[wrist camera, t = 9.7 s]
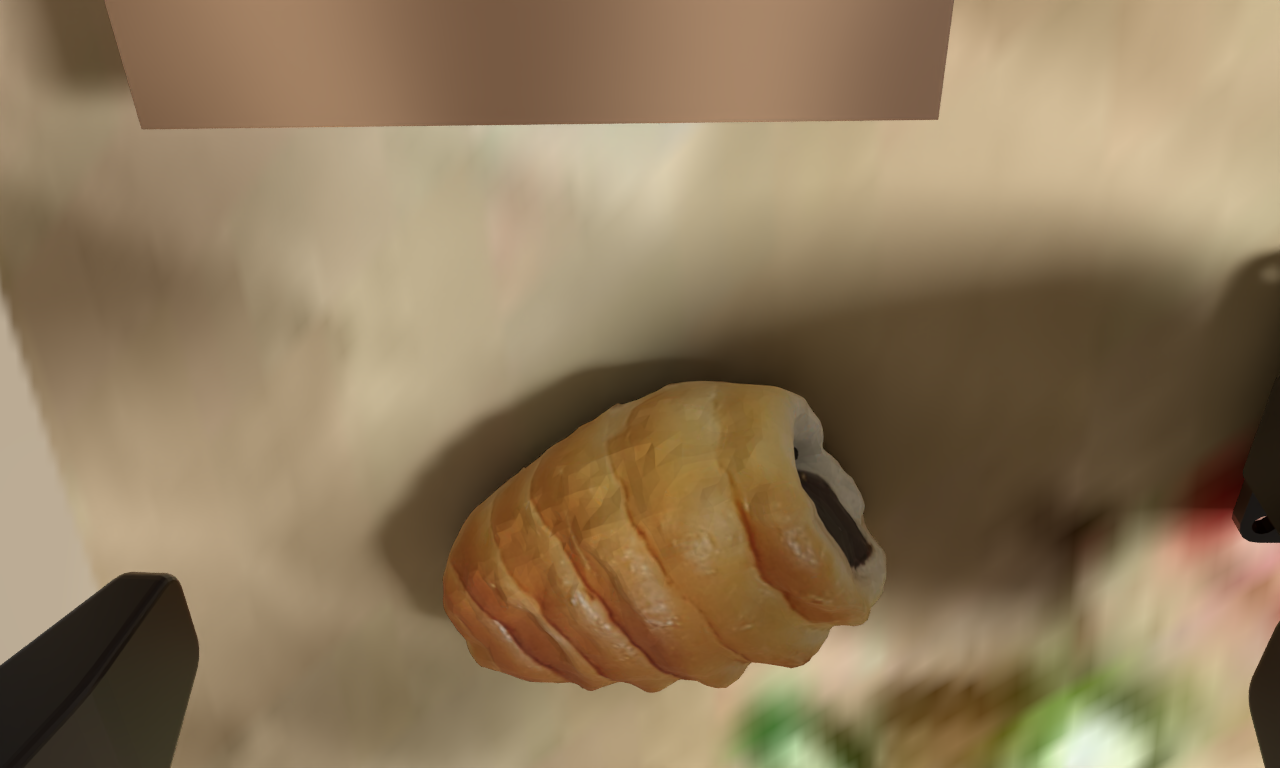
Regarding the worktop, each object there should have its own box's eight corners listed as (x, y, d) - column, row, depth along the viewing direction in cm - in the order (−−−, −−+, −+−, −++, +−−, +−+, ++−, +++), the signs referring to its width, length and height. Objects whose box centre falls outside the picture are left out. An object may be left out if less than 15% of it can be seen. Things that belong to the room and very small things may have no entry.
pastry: (549, 664, 29) (533, 803, 26) (378, 489, 25) (337, 625, 22) (904, 533, 26) (933, 673, 23) (764, 312, 22) (777, 443, 19)
